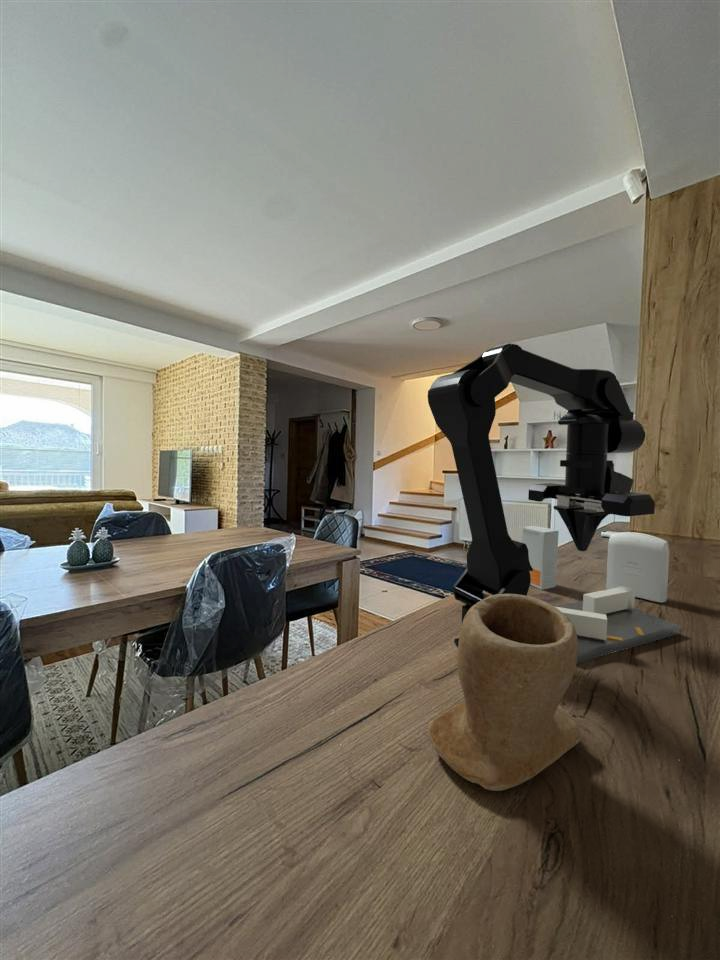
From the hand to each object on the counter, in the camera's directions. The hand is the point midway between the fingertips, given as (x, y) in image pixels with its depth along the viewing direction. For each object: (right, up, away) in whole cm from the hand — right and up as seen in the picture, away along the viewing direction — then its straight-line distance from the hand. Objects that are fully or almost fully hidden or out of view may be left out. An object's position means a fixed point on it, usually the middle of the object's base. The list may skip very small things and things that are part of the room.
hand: (582, 550), depth 67 cm
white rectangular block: (-5, -11, -5) cm, 13 cm away
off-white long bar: (+6, -10, +3) cm, 12 cm away
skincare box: (+1, -11, +21) cm, 23 cm away
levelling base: (+1, -13, -1) cm, 12 cm away
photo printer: (+18, -12, +15) cm, 26 cm away
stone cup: (-21, -15, -27) cm, 38 cm away
